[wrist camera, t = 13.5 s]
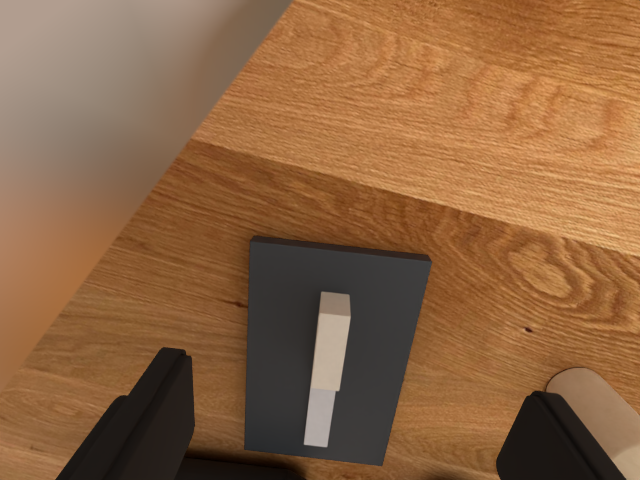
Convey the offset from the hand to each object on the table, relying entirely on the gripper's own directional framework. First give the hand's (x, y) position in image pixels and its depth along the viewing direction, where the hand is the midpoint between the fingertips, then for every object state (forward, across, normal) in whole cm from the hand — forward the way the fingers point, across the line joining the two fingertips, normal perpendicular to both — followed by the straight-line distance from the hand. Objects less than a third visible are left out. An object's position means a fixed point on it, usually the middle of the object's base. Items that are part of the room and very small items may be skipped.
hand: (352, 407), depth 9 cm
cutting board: (+21, -1, +17) cm, 27 cm away
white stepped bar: (+19, -1, +17) cm, 26 cm away
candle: (+21, -27, +17) cm, 38 cm away
